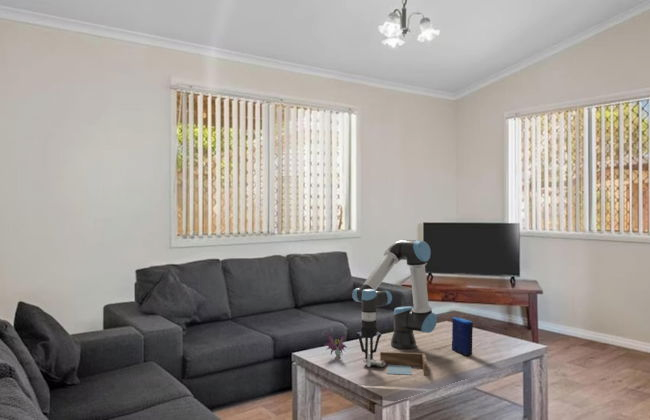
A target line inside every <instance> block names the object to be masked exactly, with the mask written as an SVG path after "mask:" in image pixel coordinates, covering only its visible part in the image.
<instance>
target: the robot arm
mask: <svg viewBox="0 0 650 420" xmlns="http://www.w3.org/2000/svg"><path fill="white" fill-rule="evenodd" d="M430 247H431V246H430V245H429V244H428V243H427V242H426V241H424V240H419V239H413V240H412V239H401V240H398V241H396V242H394V243H392V244H391V245H389V247H388V248H387V249H386V250H385V251H384V253H383V257H382V259H381V260H380V261H379V263H378V264H377V265H376V266H375V268H374V270H373V271H372V272H371V273H370V275H369V276H368V278H367V279H366V280H365V281H364V283H363V284H362V285H361V286H360V287H358V288H357V287H356V288H355V289H353V290H352V295H351V296H352V299H353V300H354V301H355V302H357V303H361V319H362V320H361V329H360V331H359V332H357V333H356V336H357V337H358V341H359V346H360V349H361V352H362V353H364V354H365V355H364V356H365V357H364V359H367V363H366V364H367V365H366V366H367V367H371V366H372V365H371V360H372V359H374V358H373V357H374V353H376V352H377V349H378V346H379V341H380V338H381V337H382V333H381V332H379V331H378V329H377V307H378V308H379V307H383V306H384V307H385V306H387V305H390V304H391V302H392V300H393V295H392V293H391V292H390V291H388V290H377V289H378V288H379V286H380V285H381V284H382V283H383V281H384V280H385V278H386V277H387V276H388V274H389V273H390V271H391V269H393V268H394V266H395V265H397V264H399V262H400V261H402V260H403V261H405V260H406V265H407V266H408V267H409V273H410V280H411V292H412V301H413V302H412V303H413V304H412V305H413V306H410V305H409V306H398V307H395V308H394V310H393V333H392V336H391V340H390V346H391V347H393V348H397V349H414V348H416V347H417V341H416V337H415V333H414V331H416V332H421V333H423V334H425V333H426V334H430V333H432V332H433V331H434V330H435V329H436V326H437V322H438V318H437V314H435V313H434V312H433V309H432V307H431V306H430V304H429V296H428V286H427V283H428V282H427V273H426V265H427V264H428V262H429V260H430V258H431V252H432V251H431V248H430ZM362 335H363V337H364V340H365V341H364V342H365V344H364V342H363V338H362ZM375 336H376V340H375V344H374V338H375ZM369 345H370V346H369ZM369 350H370V351H369Z"/></svg>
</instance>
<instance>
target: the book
mask: <svg viewBox="0 0 650 420" xmlns="http://www.w3.org/2000/svg"><path fill="white" fill-rule="evenodd" d="M451 324H452V326H451V328H452V330H451V331H452V333H451V334H452V336H451V337H452V340H451V350H452V351H454V352H456V353H458V354H461V355H462V356H473V331H474V330H473V328H474V326H473V325H474V324H473V321H472V320H468V319H465V318H462V317H459V316H452V323H451Z"/></svg>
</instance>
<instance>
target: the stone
mask: <svg viewBox="0 0 650 420" xmlns="http://www.w3.org/2000/svg"><path fill="white" fill-rule="evenodd" d="M362 362H363V363H366V364H367V359H365V358H364V359H362ZM386 365H387V364H386V363H385V362H384V360H381V361H380V360H376V359H374V358H373V359H372V360H371V365H370V366H376V367H378V368H382V367H384V366H386Z"/></svg>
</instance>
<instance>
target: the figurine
mask: <svg viewBox="0 0 650 420" xmlns="http://www.w3.org/2000/svg"><path fill="white" fill-rule="evenodd" d="M324 333H325V335H326V337H327V340H328V341H329V342H326V343H325V344H323V346H327V348H326V349H325V351H326V350H330V355H333V352H334V354H335V355H336V356H335V357H334V359H335V360H338V359H339V358H340V356H343V355H344V353H343V351H344V352H346V349H347V348H348V346H346V344H344V341H345V339H346V336H347V335H348V333H345V334H344V335H343V336H342V337H341V338H340V339H338V338H336V339H335V340H334V339H333V336H331V335H330V334H328V333H327V332H326V331H324ZM344 348H346V349H344Z"/></svg>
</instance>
